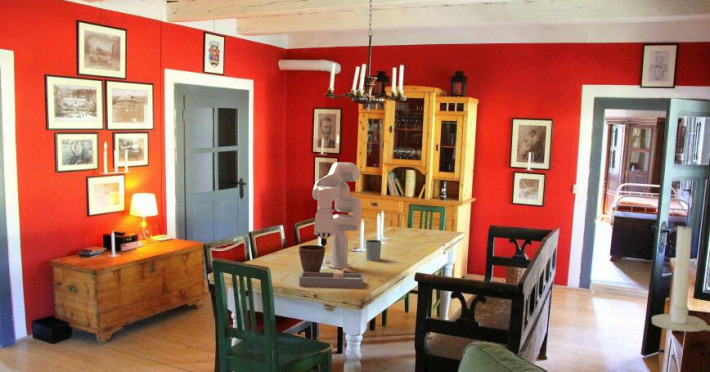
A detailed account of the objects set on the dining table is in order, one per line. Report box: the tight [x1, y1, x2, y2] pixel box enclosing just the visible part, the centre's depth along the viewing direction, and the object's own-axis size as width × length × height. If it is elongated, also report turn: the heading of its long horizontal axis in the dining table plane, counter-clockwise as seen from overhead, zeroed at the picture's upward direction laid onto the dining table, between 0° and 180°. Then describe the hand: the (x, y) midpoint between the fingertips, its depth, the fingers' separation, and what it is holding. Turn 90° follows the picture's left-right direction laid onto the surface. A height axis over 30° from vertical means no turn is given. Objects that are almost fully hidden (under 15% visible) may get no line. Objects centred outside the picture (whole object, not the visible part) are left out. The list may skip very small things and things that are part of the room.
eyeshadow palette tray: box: [298, 271, 364, 289], centre depth 300 cm, size 12×33×4 cm, turn 88°
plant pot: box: [298, 244, 326, 272], centre depth 316 cm, size 15×15×16 cm
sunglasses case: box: [339, 266, 358, 274], centre depth 318 cm, size 18×7×7 cm
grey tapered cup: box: [365, 239, 382, 262], centre depth 360 cm, size 10×10×12 cm
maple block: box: [332, 270, 343, 278], centre depth 299 cm, size 5×5×4 cm
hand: (323, 245), depth 298 cm, fingers closed
